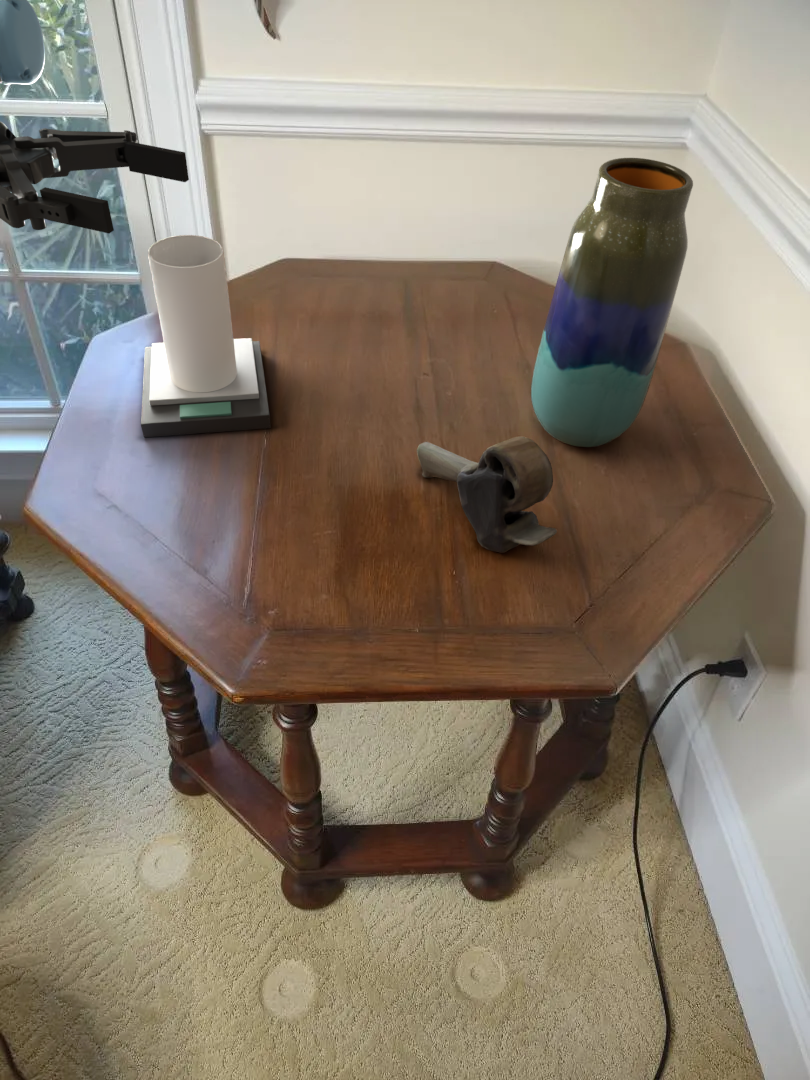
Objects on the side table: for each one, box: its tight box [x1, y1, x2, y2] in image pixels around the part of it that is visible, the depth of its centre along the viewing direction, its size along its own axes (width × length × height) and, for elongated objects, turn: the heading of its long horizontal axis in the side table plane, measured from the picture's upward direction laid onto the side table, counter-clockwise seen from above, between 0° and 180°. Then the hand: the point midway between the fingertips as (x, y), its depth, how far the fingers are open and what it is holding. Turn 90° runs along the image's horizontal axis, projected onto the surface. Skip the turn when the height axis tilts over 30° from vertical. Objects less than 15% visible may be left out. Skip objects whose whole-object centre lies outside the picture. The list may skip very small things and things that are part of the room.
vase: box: [530, 157, 694, 448], centre depth 87 cm, size 14×14×31 cm
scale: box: [140, 337, 272, 438], centre depth 98 cm, size 15×17×3 cm
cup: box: [147, 234, 237, 392], centre depth 91 cm, size 8×8×16 cm
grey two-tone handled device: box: [416, 435, 558, 554], centre depth 82 cm, size 21×6×12 cm, turn 35°
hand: (149, 190), depth 74 cm, fingers open, 13 cm apart
